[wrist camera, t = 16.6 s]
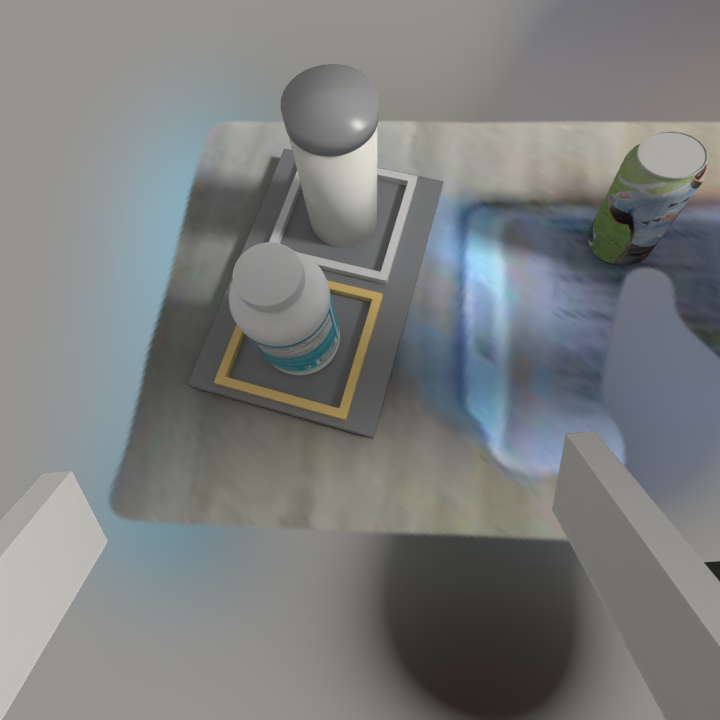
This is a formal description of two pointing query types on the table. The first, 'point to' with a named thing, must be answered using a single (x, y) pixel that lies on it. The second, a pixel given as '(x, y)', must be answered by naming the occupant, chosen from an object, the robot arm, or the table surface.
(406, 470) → the table surface
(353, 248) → the grey base plate
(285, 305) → the pill bottle
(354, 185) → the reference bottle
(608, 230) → the beverage can
